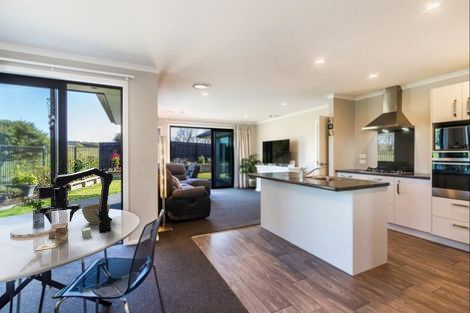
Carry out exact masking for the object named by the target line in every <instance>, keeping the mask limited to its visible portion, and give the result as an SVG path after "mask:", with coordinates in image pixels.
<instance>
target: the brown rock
mask: <svg viewBox="0 0 470 313" xmlns="http://www.w3.org/2000/svg"><path fill="white" fill-rule="evenodd" d="M63 225H67V227H68V225H69V224H68V222H60V223H56V224H55V223H54V224H51V227H50V229H49V231H48V238H49V239H55V236H56V227H57V226H63Z"/></svg>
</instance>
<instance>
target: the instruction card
mask: <svg viewBox="0 0 470 313" xmlns="http://www.w3.org/2000/svg"><path fill="white" fill-rule="evenodd" d="M58 245H60V243H55V242H54V243H48V244H47V243H45V244H40V245H39V246H38V247H37V248H36V249H35V250H34V251H35V252H37V251H42V250H52V249H56V248H58Z"/></svg>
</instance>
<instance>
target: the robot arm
mask: <svg viewBox="0 0 470 313" xmlns="http://www.w3.org/2000/svg"><path fill="white" fill-rule="evenodd" d="M93 175H94V176H97V177H98V178H99V179H100V184H101V188H100V189H101V190H100V199H99V204H100V206H99V208H98V209H96V210H95V211H96V213H95V216H96V218H97V219H99V221H101V222H100V223H99V224H98V232H99V233H101V234H102V233H107V232H111V230H112V222H113V218H111V217H110V216H109V213H108V209H107V204H109V203H108V202H109V193H110V186H111V184H112V182H113V179H114V176H113V174H112V173H111V172H107V171H103V170H101V169H99V168H98V167H97V168H96V167H92V168H89V169H85V170H82V171H78V172H74V173H71V174H60V175H59V174H58V175H56V176H55V177H54V178H53V182H51V184H50V185H49V186H39V187H38V188H37V189H38V190H37V199H38V200H45V199H51V198H54V200H53V201H54V202H53V204H54V207H52V206H50V205H46V206H42V207H40V209H39V210H38V211H39V212H38V213H39V214H42V215H44V216H45V217H46V219H47V220H48V222H49V223H50V225H53V218H52V212H53V211H66V210H70V211H69V223H71V222H72V219H73V216H74V214H75V213H76V212H77V211H79V210H80V209H81V204H80V203H73V204H71V205H70V200H68V197H67V194H68V190H69V189H71V186H69V185H68V184H70V183H72V182H73V181H76V180H80V179H83V178H86V177H91V176H93Z"/></svg>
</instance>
